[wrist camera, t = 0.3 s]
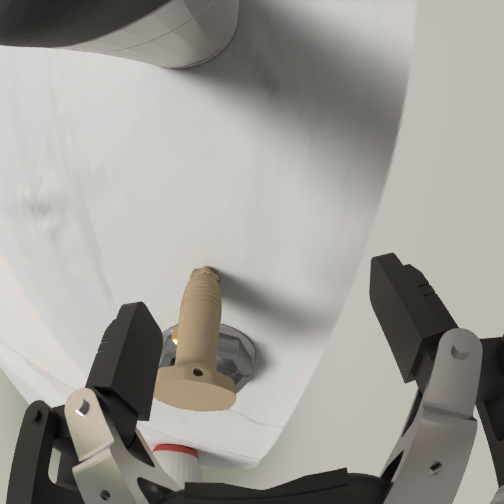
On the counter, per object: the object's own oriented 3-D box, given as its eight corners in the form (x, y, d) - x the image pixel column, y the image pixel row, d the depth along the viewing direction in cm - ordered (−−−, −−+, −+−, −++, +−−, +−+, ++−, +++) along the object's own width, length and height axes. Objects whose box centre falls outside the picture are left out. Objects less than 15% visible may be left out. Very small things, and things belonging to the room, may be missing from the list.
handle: (227, 298, 34) (228, 414, 21) (173, 287, 32) (150, 402, 20) (238, 265, 31) (243, 387, 19) (179, 252, 30) (151, 373, 17)
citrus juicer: (132, 439, 61) (125, 502, 44) (188, 440, 59) (186, 510, 42) (160, 456, 69) (156, 511, 52) (211, 456, 68) (212, 515, 51)
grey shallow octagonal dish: (136, 333, 36) (130, 353, 33) (233, 308, 35) (233, 330, 32) (186, 386, 44) (184, 404, 41) (268, 370, 42) (270, 389, 39)
